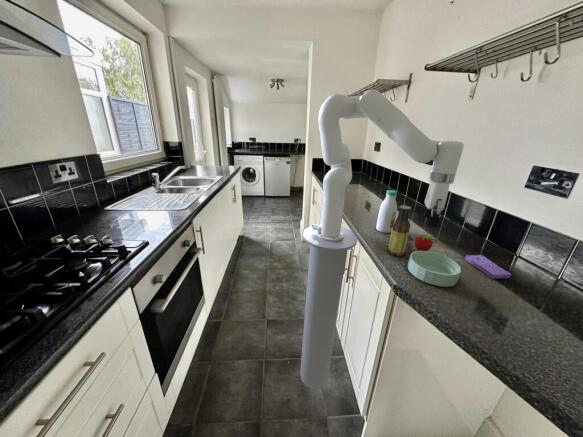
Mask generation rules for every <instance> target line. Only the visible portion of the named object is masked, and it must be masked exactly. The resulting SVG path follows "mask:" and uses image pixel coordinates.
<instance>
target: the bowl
mask: <svg viewBox="0 0 583 437" xmlns="http://www.w3.org/2000/svg"><path fill="white" fill-rule="evenodd" d="M407 270H408V271H409V272H410V274H411V275H412V276H413V277H415V278H417V279H418V280H420V281H422V282H424V283H426V284H429V285H433V286H437V287H443V288H449V287H454V286H455V285H456V284H457V283H458V281H459V278H460V276H461V273H462V267H461V265H460V264H459V263H458V262H457V261H455V260H454V259H452V258H450V257H449V256H446V255H443V254H442V253H438V252H435V251H430V250H428V251H417V250H416V251H413V252H411V253H410V255H409V258H408V262H407Z"/></svg>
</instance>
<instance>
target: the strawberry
mask: <svg viewBox="0 0 583 437" xmlns="http://www.w3.org/2000/svg"><path fill="white" fill-rule="evenodd" d="M427 234H429V232H427V233H426V234H422V233H420V234H418V235H417V236H415V237H414V239H413V243H414V247H415V250H416V251H430V250H431V249H432V247H433V241H432V240H433V239H432V238H434V237H433V236H430V235H428V236H427Z"/></svg>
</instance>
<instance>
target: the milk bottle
mask: <svg viewBox="0 0 583 437" xmlns="http://www.w3.org/2000/svg"><path fill="white" fill-rule="evenodd" d="M397 195H398V191H396V190H393V189H387V190H386V194H385V198H384V200H383V201H382V202H381V204H380V207H379V210H378V216H377V221H376V227H375V228H376V229H375V230H376V231H379V232H380V233H385V234H391V232H392V226H393V224H394V223H395V221H396V218H397V217H396V216H397V211H398V204H397V200H396V197H397Z"/></svg>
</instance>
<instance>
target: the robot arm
mask: <svg viewBox="0 0 583 437" xmlns="http://www.w3.org/2000/svg"><path fill="white" fill-rule="evenodd" d="M361 118H367V119H368V120H370V122H372V123H373V125H375V126H376V127H377V128H378V129H379V130H381V131H382V132H383V133H384V134H385V135H386V137H388V138H389V139H391V141H393V142H394V143H395V144H396V145H397V146H398V147H399V148H400V149H402V151H403V152H404V153H406V154H407V155H408V156H409V158H411V159H412V160H413V161H414V162H417V163H419V164H426V163H429V162H431V161H433V162H432V166H431V169H430V170H431V171H430V175H429V178H428V182H429V181H430V183H429V185H428V188H427V192H426V195H425V198H424V205H425V210H424V213H423V218H425V219H428V221H427V227H430V228H431V227H432V228H438V227H439V223H440V220H441V216H442V211H443V210H444V209H445V205H446V203H447V198H448V194H449V191H450V186H451V185H452V184H454V182H455V179H456V176H457V171H458V168H459V164H460V161H461V158H462V154H463V151H464V147H465V146H464V143H463V142H462V141H459V140H457V141H455V140H442V141H440V140H434V139H433V140H432V139H430V138H429V137H428V136H427V135H426V134H425V133H424V132H422V131H421V130H420V129H419V128H418V127H417V126H416V125H415V124H413V123H412V121H411V120H410V119H409V117H408V116H407V115H406V114H405V113H404V112H403V111H401V109H399V107H397V106H396V105H395V104H394V103H392V102H391V100H389V99H388V98H387V97H386V96H385V95H384V94H382V93H381V91H379V90H377V89H368V90H366V91H365V92H364V93H363V94H361V95H351V96H348V95H346V94H344V93H341V92H340V93H338V92H337V93H334V94H332V95H330V96H328V98H326V99H325V101H323V103H322V104H321V106H320V109H319V111H318V118H317V120H318V121H317V122H318V129H319V136H320V137H319V138H320V145H321V147H320V148H321V153H322V159H323V162H324V164H326V166H330V170H329V171H328V172H327V173H325V175H324V177H323V181H322V190H323V191H322V193H323V195H322V207H321V216H320V218H321V220H320V224H316V223H312V224H311V226H312V228H313V229H314V230H318V231H317V236H318V237H319V238H321V239H323V240H326V241H339V240H341V239H342V238H343V233H342V232H341V227H342V224H343V215H344V208H345V200H346V187H347V186H348V185H349V184H350V183H351V181H352V179H353V170H352V168H353V167H352V161H351V152H350V148H349V147H348V144H346V143H345V142H343V139H342V130H341V126H340V119H342V120H350V119H361Z"/></svg>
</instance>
